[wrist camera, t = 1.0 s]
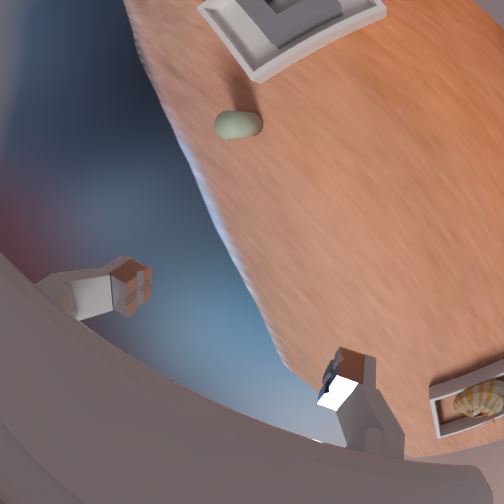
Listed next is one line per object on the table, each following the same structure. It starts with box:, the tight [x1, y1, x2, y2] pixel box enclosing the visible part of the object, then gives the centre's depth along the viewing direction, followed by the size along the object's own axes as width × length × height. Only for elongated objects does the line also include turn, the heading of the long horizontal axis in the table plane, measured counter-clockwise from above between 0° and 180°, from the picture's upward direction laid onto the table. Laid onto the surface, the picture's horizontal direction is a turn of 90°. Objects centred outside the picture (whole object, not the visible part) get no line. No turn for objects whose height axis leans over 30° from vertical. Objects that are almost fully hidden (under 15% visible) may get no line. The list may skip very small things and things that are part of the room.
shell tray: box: [429, 358, 504, 439], centre depth 44 cm, size 27×21×4 cm
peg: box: [215, 110, 263, 139], centre depth 40 cm, size 4×4×9 cm
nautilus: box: [454, 379, 504, 424], centre depth 43 cm, size 8×21×15 cm
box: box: [196, 0, 387, 84], centre depth 30 cm, size 24×18×6 cm
